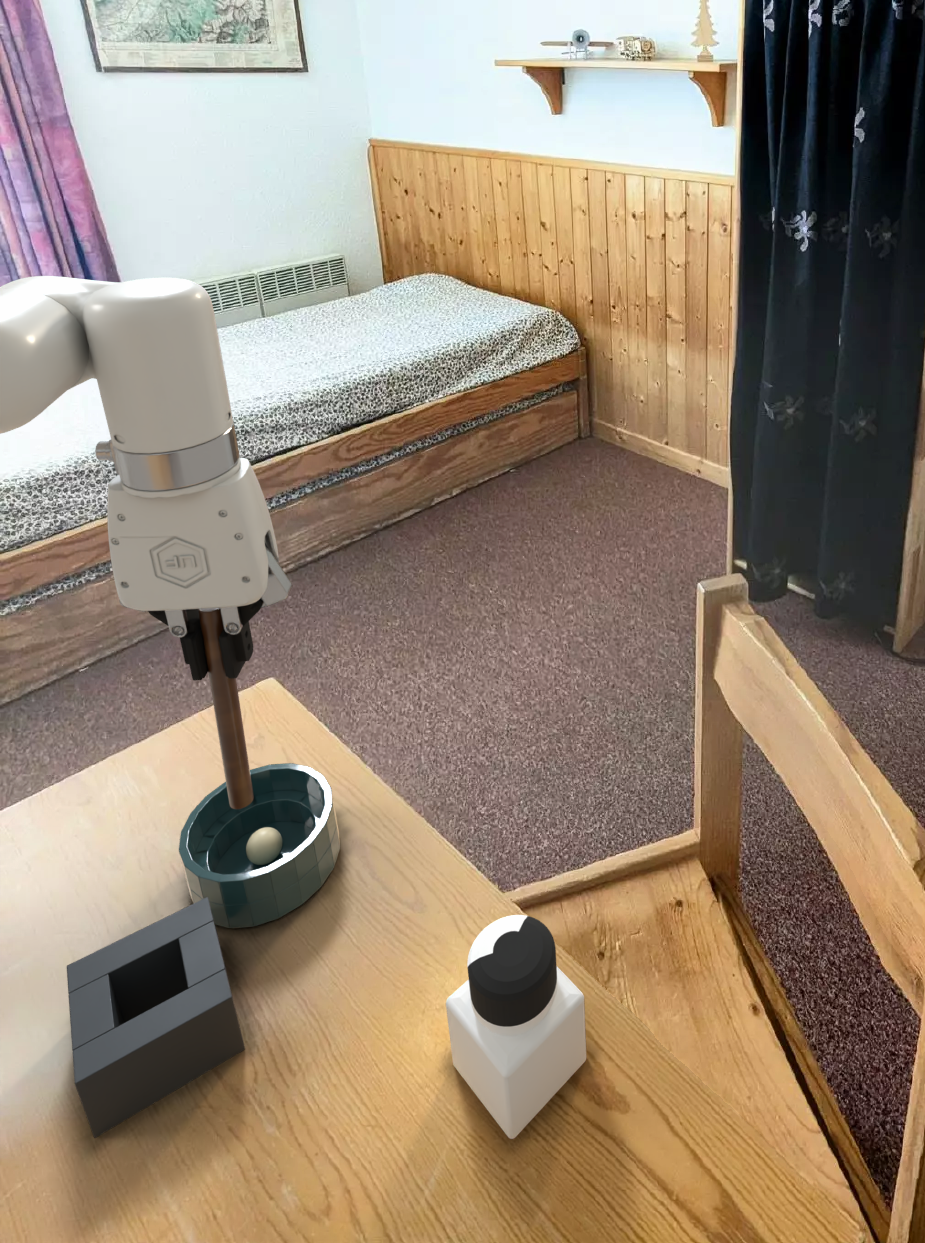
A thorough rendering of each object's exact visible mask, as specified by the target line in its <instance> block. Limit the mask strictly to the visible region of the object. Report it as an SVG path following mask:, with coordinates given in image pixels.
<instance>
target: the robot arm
mask: <svg viewBox="0 0 925 1243" xmlns="http://www.w3.org/2000/svg"><path fill="white" fill-rule="evenodd" d="M92 379H95V380H96V382H97V387H98V390H99V394H100V400H101V404H102V407H103V412H104V416H105V420H106V423H107V428H108V432H109V436H110V439H109V440H104V441H103V440H102V441H98V442H97V443H96V445H95V449H94V451H95V452H94V453H95V457H96V459H97V460H98V461H108V462H111V463H113V466H114V469H115V474H116V476H114V477H113V478H112V479H111V480H110V481H109V483H108V486H107V505H106V506H107V512H106V513H107V537H108V538H107V539H108V546H109V556H110V562H111V568H112V575H113V581H114V585H115V589H116V592H117V597H118V602H119V605H120V606H122V607H123V608H127V609H131V610H135V611H138V612H142V613H148V614H149V615H150V616H152V617H153V618H154V619H156V620H158V621H160V622H161V623H163V625H165V626H167V627H168V630H169V632H170V635H172V636H173V637H174V638H178V639H179V641H180V645H181V646H180V647H181V651H182V654H183V659H184V663H185V664H186V665H189V669H190V673H191V674H190V675H191V679H192V681H202V680H203V679H205V678H206V677H207V675H208V667H207V661H206V655H205V649H204V643H203V636H202V630H201V624H200V618H199V611H198V609H206V608H220V609H221V615H222V620H223V628H224V629H223V631H222V632H221V634H220V636H219V645H220V650H221V655H222V660H223V664H224V669H225V674H226V677H228V678H229V679H233V678H236V679H238V677H239V675H240V674H241V671H242V670H243V667H244V666H245V665H246V662H249V661H250V660H251V658H252V656H253V653H254V641H253V637H252V636H253V635H252V631H251V626H250V621H251V620H252V619H253V617H255V616H256V615H257V613H258V612H260V610H261V609H263V608H265V607H270V606H273V605H275V604H277V603H280V602H282V601H285V600H286V599H287V598H288V597H289V595H290V594H291V591H292V589H293V583H292V581H291V580H290V578H289V577H288V575H287V574H286V572H285V571H284V569H283V567H282V566H281V565H280V557H279V550H278V548H279V547H278V542H277V538H276V534H275V530H274V526H273V522H272V518H271V514H270V510H269V508H268V504H267V500H266V497H265V495H264V492H263V490H262V487H261V485H260V482H259V480H258V477H257V474H256V473H255V471H254V469H253V467H252V464H251V462H250V461H249V459H248V458H246V457H245V458H244V457H241V456H240V450H239V445H238V440H237V434H236V427H235V423H234V419H233V414H232V413H233V412H232V408H231V401H230V400H231V399H230V395H229V389H228V384H227V378H226V371H225V364H224V361H223V355H222V350H221V343H220V338H219V332H218V326H217V321H216V315H215V309H214V306H213V302H212V299H211V296H210V294H209V293H208V291H207V290H206V289H205V287H203V286H202V285H201V284H199V283H197V282H195V281H193V280H190V279H185V278H181V277H167V276H166V277H146V278H145V277H144V278H138V279H137V278H136V279H131V280H125V281H120V282H116V281H106V280H93V279H86V278H85V279H84V278H76V277H67V276H57V275H33V276H26V277H22V278H18V279H15V280H12V281H10V282H8V283H5V284H3V285H1V286H0V435H1V434H5V433H8V432H11V431H14V430H16V429H18V428H21V427H23V426H25V425H26V424H28V423H30V422H32V421H33V420H34V419H35V418H38V416H39V415H41V414H42V413H43V412H44V411H45V410H47V409H48V407H50V406H51V405H52V404H53V403H54V402H56V401H57V400H58V399H60V397H61V396H63V395H64V394H65V393H66V392H68V391H69V390H71V389H73V388H75V387H77V386H79V385H81V384H83V383H85V382H87V381H89V380H92Z"/></svg>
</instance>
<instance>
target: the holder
mask: <svg viewBox="0 0 925 1243" xmlns="http://www.w3.org/2000/svg"><path fill="white" fill-rule="evenodd" d="M216 926H217V925H215V922H214V918H213V914H212V910H211V906H210V902H209V898H208V897H206V898H204V899H202V900H200V901H198V902H196V903H194V904H193V903H192V904H190V905H187V906H186V907H184V908H182V909H179V910H177V911H176V912H174V913H171V914H169V915H168V916H165V917H163V918H161V919H159V920H157V921H155V922H153V923H151V924H149V925H147V926H145V927H143V928H141V929H138V930H137V931H135V932H132V933H131V934H128V935H126V936H125V937H122V938H121V939H118V940H116V941H114V942H112V943H110V944H108V945H106V946H104V947H102V948H100V949H98V950H96V951H93V952H92V953H89V954H88V955H86V956H84V957H81V958H80V959H77V960H75V961H73V962H71V963H69V964H67V965H66V978H67V994H68V1011H69V1022H70V1038H71V1051H72V1065H73V1066H72V1067H73V1079H74V1080H73V1081H74V1086H75V1089H76V1092H77V1094H78V1097H79V1100H80V1103H81V1106H82V1108H83V1111H84V1113H85V1116H86V1119H87V1122H88V1125H89V1128H90V1130H91V1133H92V1136H93V1138H94V1139H96V1138H98V1137H99V1136H101V1135H102V1134H104V1133H106V1132H108V1131H110V1130H111V1129H113V1128H114V1127H116V1126H118V1125H120V1124H122V1123H123V1122H125V1121H126V1120H129V1119H130V1118H132V1117H133V1116H135V1115H136V1114H138V1113H140V1112H142V1111H143V1110H145V1109H146V1108H148V1107H150V1106H152V1105H154V1104H155V1103H157V1102H159V1101H161V1100H162V1099H164V1098H166V1097H167V1096H169V1095H170V1094H172V1093H174V1092H176V1091H177V1090H179V1089H180V1088H182V1087H184V1086H186V1085H187V1084H189V1083H191V1082H192V1081H194V1080H196V1079H197V1078H199V1077H202V1075H205V1074H206V1073H208V1072H210V1071H211V1070H213V1069H214V1068H216V1067H218V1066H219V1065H221V1064H223V1063H224V1062H226V1061H228V1060H230V1059H231V1058H233V1057H235V1056H237V1055H238V1054H240V1053H241V1052H244V1051H245V1050H246V1046H245V1041H244V1038H243V1034H242V1030H241V1026H240V1022H239V1017H238V1014H237V1009H236V1005H235V1000H234V997H233V992H232V989H231V984H230V980H229V976H228V975H229V974H228V971H227V967H226V964H225V959H224V956H223V951H222V947H221V943H220V938H219V935H218V931H217V927H216Z"/></svg>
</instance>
